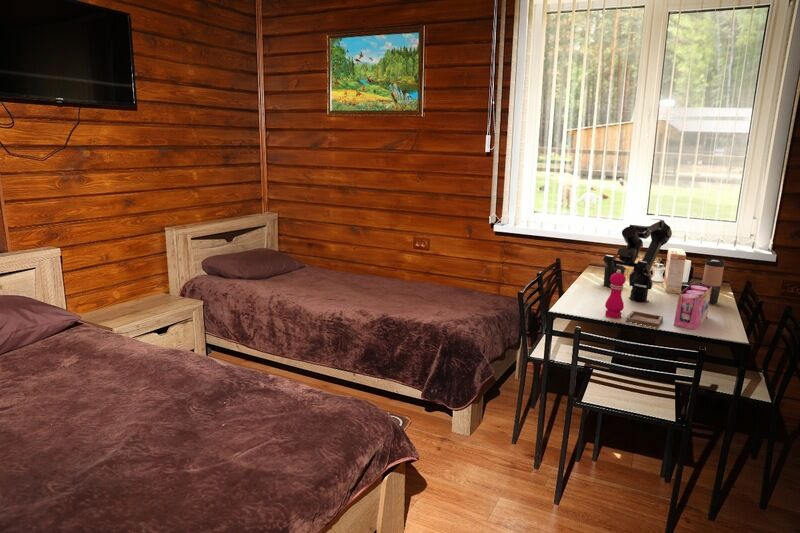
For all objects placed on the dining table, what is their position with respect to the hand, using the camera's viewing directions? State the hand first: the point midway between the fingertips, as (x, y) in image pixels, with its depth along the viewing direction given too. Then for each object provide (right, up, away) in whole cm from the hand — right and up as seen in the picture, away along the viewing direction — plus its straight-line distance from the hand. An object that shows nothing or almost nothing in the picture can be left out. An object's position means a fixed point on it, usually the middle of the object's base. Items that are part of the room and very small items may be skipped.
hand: (619, 280), depth 237 cm
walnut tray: (+6, -16, -10) cm, 20 cm away
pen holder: (+14, -4, +43) cm, 46 cm away
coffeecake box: (+42, -5, +40) cm, 59 cm away
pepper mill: (-4, -15, -5) cm, 16 cm away
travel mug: (+49, -11, +20) cm, 54 cm away
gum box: (+26, -17, -8) cm, 32 cm away
